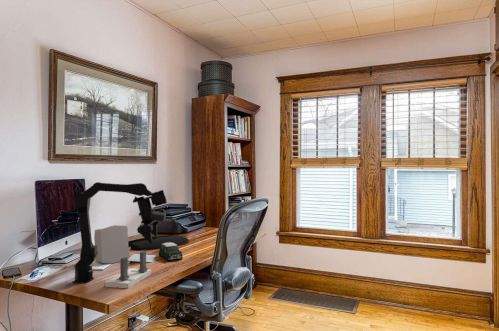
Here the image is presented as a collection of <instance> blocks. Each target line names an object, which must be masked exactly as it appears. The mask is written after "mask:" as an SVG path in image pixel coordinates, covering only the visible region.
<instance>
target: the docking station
mask: <svg viewBox="0 0 499 331" xmlns="http://www.w3.org/2000/svg"><path fill="white" fill-rule="evenodd" d="M169 242H171V243H174V244H176V245H177V246H179V247H180V246H183V245H186V244H189V243H190V240H189V238H188V237H186V236H184V235H178V234H174V235H173V234H171V235H170V234H169V235H168V234H166V235H157V236H154V235H153V236H152V243H149V242H148V241H147V240H146V239H145V238H144V237H142V238H137V239H131V240H128V245H129V248H130V250H133V251H139V252H142V251H152V250H153V251H154V250H159V249H160V247H161V245H162V244H163V243H169Z"/></svg>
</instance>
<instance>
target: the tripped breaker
mask: <svg viewBox="0 0 499 331" xmlns="http://www.w3.org/2000/svg"><path fill="white" fill-rule="evenodd" d="M128 259H129V258H128V257H124V258H121V260H120V273H119V274H120V277H119V280H126V279H128V278H129V275H128V269H129V268H128V266H129V265H128V264H129V263H128V262H129V261H128Z"/></svg>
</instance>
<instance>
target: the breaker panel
mask: <svg viewBox="0 0 499 331" xmlns="http://www.w3.org/2000/svg"><path fill="white" fill-rule="evenodd" d="M139 269H140V268H128V275H129V278H128V279H126V280H119V277H120V273H119V274H117V275H115V276H114V277H112V278H110V279H107V280H106V281H104V287H105V288H117V287H118V289H119V288H120V289H130V288H131V287H133V286H134V285H135V284H137V283H139V282H140V281H142V280H143V279H145V278H147V277H148V276H150V275H151V274H152V269H151V268H150V269H149V268H148V270H147V271H145V272H138V270H139Z"/></svg>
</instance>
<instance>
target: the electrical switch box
mask: <svg viewBox="0 0 499 331" xmlns="http://www.w3.org/2000/svg"><path fill="white" fill-rule="evenodd" d="M128 229H129V228H128V226H127V225H117V224H115V225H110V226H108V227H104V228H99V229H98V228H97V229H95V230H94V236H93V237H94V238H93V240H94V246H95V245H97V252H98V254H97V256H96V258H95V261H97V263H102V264H115V263H119V262H120V260H121V258H124V257H128V259H129V258H130V247H129V245H128V241H129V234H128V233H129V232H128Z"/></svg>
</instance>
